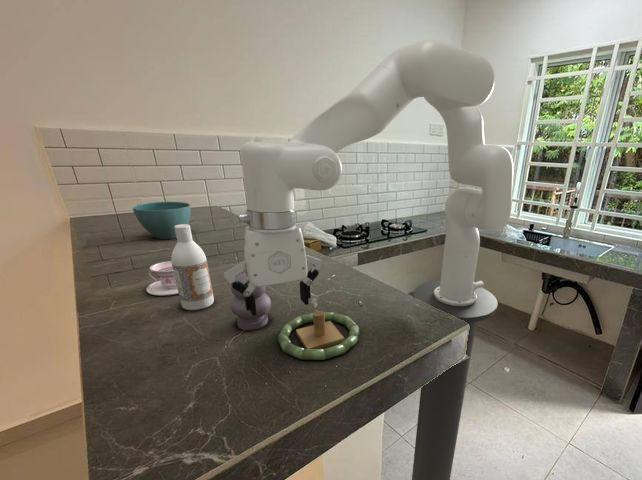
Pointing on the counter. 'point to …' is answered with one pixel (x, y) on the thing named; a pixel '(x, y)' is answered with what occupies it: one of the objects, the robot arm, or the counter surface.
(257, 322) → the cat figurine
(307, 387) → the counter surface
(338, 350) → the ring
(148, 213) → the teal bowl
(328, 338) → the stand
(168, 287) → the teacup
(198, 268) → the bath foam
